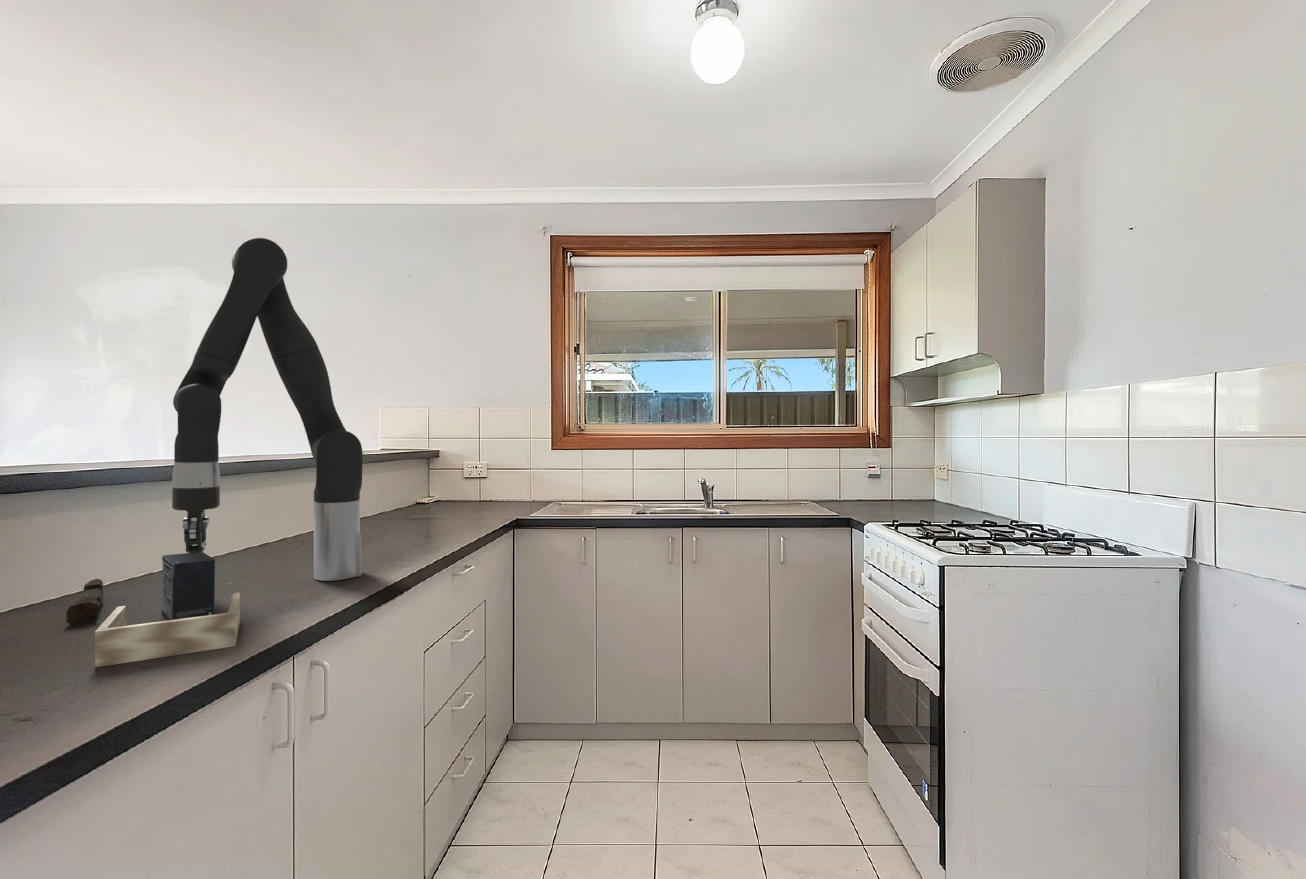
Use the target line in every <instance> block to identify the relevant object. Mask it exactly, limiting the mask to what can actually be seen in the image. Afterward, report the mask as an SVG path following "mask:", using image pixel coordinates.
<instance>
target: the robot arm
mask: <svg viewBox="0 0 1306 879" xmlns="http://www.w3.org/2000/svg"><path fill="white" fill-rule="evenodd" d="M231 266H232V271H233V275H232V278H231V281H230V284H229V287H228V290H227V292H226V294H225V296H224V298H223V300H222V303H221V305H219V308H218V310H217V311H216V313H215V315H214V317H213V318H212V320H211V322H210V324H209V325H208V327H207V329H206V331H205V333H204V335H203V336H202V338H201V341H200V344H199V345H198V347H197V349H196V352H195V354H194V356H193V359H192V363H191V365H190V367H189V368H188V370H187V372H186V373H185V375H184V377H183V378H182V380H181V382H180V384H179V386H178V387H177V390H176V392H175V394H174V395H173V399H172V400H173V401H172V404H173V407H174V410H175V411H176V412H177V434H176V436H175V440H174V446H173V447H174V453H173V454H174V457H173V458H174V459H173V463H174V464H173V470H172V487H171V488H172V489H171V491H172V492H171V493H172V494H171V496H172V497H171V500H172V501H171V502H172V503H171V506H172V510H175V511H180V512H181V511H182V512H183V511H186V512H187V514H186V515H187V516H186V517H184V518H183V519H182V529H183V536H184V537H183V538H184V540H183V541H184V543H185V551H186V552H185V553H196V552H203V553H205V550H206V546H207V543H206V541H207V539H208V536H209V535H208V532H209V530H208V529H209V528H208V526H209V525H210V516H206V510H214V509H217V508H219V507H220V501H221V500H220V498H221V495H220V494H221V490H220V489H221V485H220V484H221V473H220V472H221V471H220V465H219V432H220V426H221V420H222V398H221V394H222V392H223V389H224V387H225V385H226V382H228V380H229V378H231V376H232V375H233V374H234V372H235V370H236V368H237V366H238V365H239V362H240V359H241V357H242V355H243V352H244V351H245V348H246V345H247V343H248V340H249V338H250V335H251V332H252V329H253V328H254V325H255V322H256V321H257V319H258V322H259V324H260V328H261V331H262V335H263V338H264V339H265V343H266V345H267V348H268V351H269V353H270V356H271V359H272V361H273V364H274V367H275V368H276V371H277V373H278V375H279V377H280V379H281V381H282V384H283V386H284V388H285V390H286V391H287V395H288V396H289V398H290V400H291V401H292V403H293V405H294V407H295V408H296V411H297V413H298V414H299V417H300V419H301V422H302V424H303V428H304V431H305V434H306V437H307V441H308V445H309V448H310V451H311V452H310V453H311V455H312V458H313V459H314V461H315V463H316V468H315V469H316V470H315V472H316V475H315V477H316V479H315V485H314V489H313V578H314V580H315V581H316V580H317V581H321V582H322V581H324V582H328V581H329V582H330V581H342V580H348V579H351V578H355V577H356V578H357V577H362V534H361V533H360V532H361V529H360V528H361V525H360V524H361V520H360V519H361V517H360V516H361V513H360V512H361V508H360V507H361V504H360V501H361V499H360V498H361V495H360V494H361V489H362V484H363V465H364V464H363V456H364V454H363V446H362V443H361V441H360V440H359V439H360V438H358V437H357V436H356V435H355V434H354V433H352V432H350V431H348V430H346V428H345V426H344V424H343V422H342V420H341V419H340V416H339V414H338V412H337V408H336V406H335V404H334V399H333V392H332V387H331V381H330V377H329V373H328V368H327V366H326V362H325V360H324V358H323V355H322V353H321V350H320V348H319V346H318V343H317V341H316V339H315V338H314V335H313V334H312V332H310V330H309V328H308V327H307V326H306V324H305V323H304V322H303V319H301V317H300V316H299V314H298V313H297V311H296V309H295V308H294V305H293V303H292V302H291V299H290V295H289V293H288V288H287V287H286V283H285V280H284V277H285V275H286V273H287V270H288V258H287V255H286V253H285V251H284V250H283V248H282V247H281V246H280V245H279V244H278V243H276V242H274V241H273V240H271V239H268V238H264V237H253V238H250V239H247V240H245V241H243V242H242V243H241V244H240V245H239V246H237V248H236V250H235V252H234V254H233V256H232V260H231Z"/></svg>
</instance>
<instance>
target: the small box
mask: <svg viewBox="0 0 1306 879" xmlns="http://www.w3.org/2000/svg"><path fill="white" fill-rule="evenodd" d="M161 559H162V563H161V564H162V588H161V589H162V590H161V593H162V594H161V595H162V596H161V597H162V598H161V610H160V611H161V613H162V615H163V616H164V617H165V618H166V619H167V620H166V621H168V620H176V619H184V618H192V617H199V616H207V615H215V588H216V587H215V581H216V578H215V577H216V575H215V574H216V570H215V569H216V559H215V558H213V557H212V556H210V555H208V553H205V552H196V553H188V552H185V553H174V554H163V555H162V557H161Z"/></svg>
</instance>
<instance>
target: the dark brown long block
mask: <svg viewBox="0 0 1306 879" xmlns="http://www.w3.org/2000/svg"><path fill="white" fill-rule="evenodd" d="M103 603H104V583H103V580H101V579H99V578H96V579H91V580H90V581H88V582H86V583H85V584H84V586H83V591H82V594H81V595H80V596H79V597H78V599H77V600H76V602H75V603H74V604H72V605H70V606H69V607H68V609H67V611H66V615H65V616H66V617H65V618H66V620H65V621H66V623H67V624H68V625H69V626H77V625H84V624H85V625H86V624H91V623H93V622H96V620H97V618H98V613H99V612H100V607H101V606H102V605H103Z"/></svg>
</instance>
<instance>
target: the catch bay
mask: <svg viewBox="0 0 1306 879" xmlns="http://www.w3.org/2000/svg"><path fill="white" fill-rule="evenodd" d="M240 624H241V592H234V593H232V596H231V600H230V604H229V606H228V611H227V612H223V613H217V614H216V613H214V615H207V616H199V617H192V618H184V619H176V620H161V621H160V620H159V621H155V622H154V621H153V622H147V623H139V624H130V625H127V605H121V606H117V607H116V608H115V609H114V610H113V611H112V612H110V614H109V615H108V617H107V618H106V619H105V620H104V621H103V622H102V623H101V624H100V626H99V627H97V629H96V630H95V631H94V654H95V655H94V660H95V662H94V664H95V665H94V666H95V668H101V667H107V666H112V665H120V664H126V663H127V664H128V663H132V662H133V663H134V662H140V661H146V660H151V659H154V660H155V659H158V658H165V657H173V656H179V655H185V654H193V653H198V652H205V651H212V650H219V649H225V648H231V647H236V644H237V640H238V634H239V630H240Z"/></svg>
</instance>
